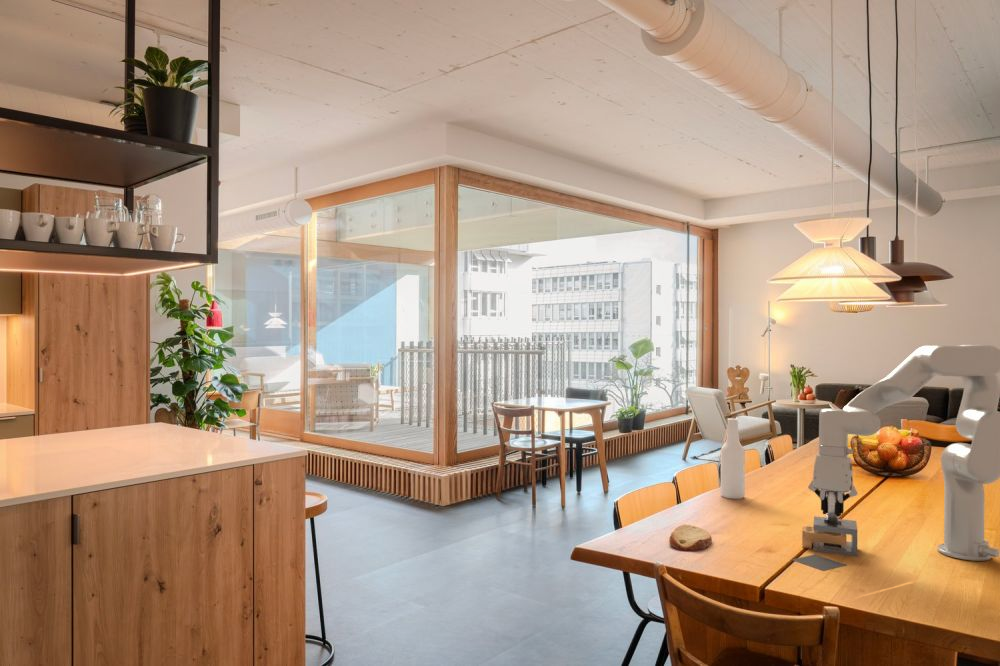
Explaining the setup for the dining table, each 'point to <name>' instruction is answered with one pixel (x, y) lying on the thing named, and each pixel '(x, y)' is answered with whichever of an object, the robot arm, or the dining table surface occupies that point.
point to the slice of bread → (690, 538)
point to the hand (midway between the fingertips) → (832, 513)
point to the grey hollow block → (831, 537)
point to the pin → (831, 507)
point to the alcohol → (732, 463)
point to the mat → (819, 562)
